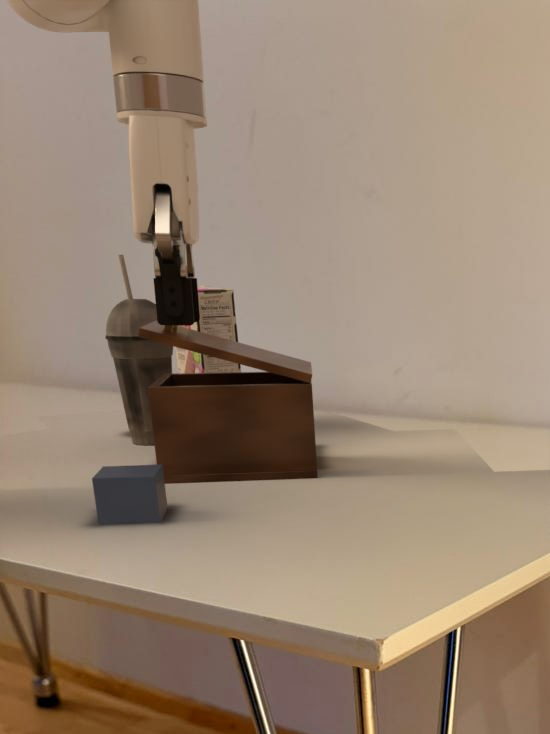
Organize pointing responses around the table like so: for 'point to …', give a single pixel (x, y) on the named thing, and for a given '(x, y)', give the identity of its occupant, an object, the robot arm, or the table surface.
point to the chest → (233, 427)
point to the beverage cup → (136, 359)
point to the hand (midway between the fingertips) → (179, 321)
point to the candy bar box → (211, 331)
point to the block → (130, 494)
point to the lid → (227, 350)
